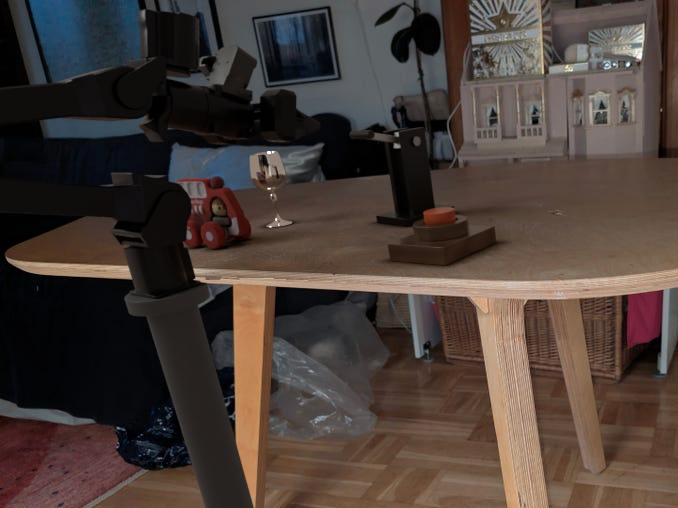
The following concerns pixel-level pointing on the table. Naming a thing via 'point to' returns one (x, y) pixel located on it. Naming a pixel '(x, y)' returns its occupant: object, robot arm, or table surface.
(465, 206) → the table surface
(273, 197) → the wineglass
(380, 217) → the bracket
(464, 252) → the button block
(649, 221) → the table surface
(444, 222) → the button
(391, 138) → the lever
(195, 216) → the toy fire truck
